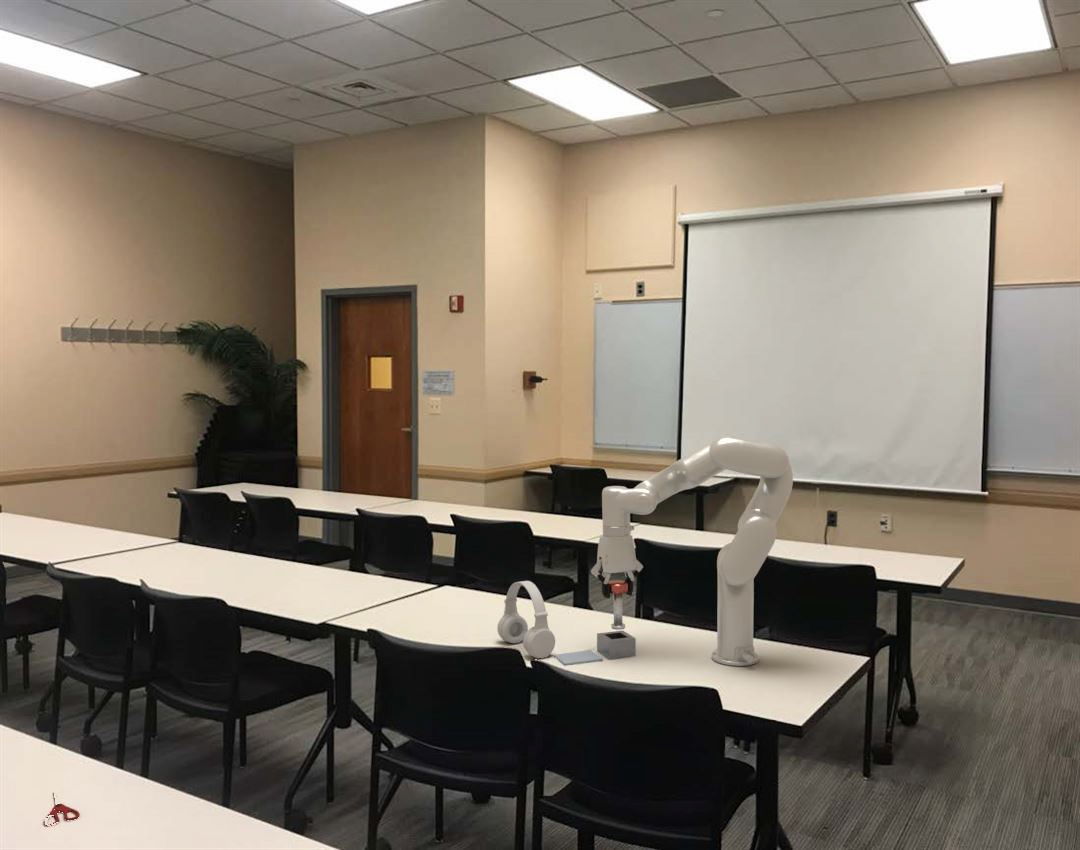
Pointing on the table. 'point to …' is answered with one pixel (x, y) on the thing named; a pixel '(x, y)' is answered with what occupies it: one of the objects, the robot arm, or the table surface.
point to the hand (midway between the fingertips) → (617, 595)
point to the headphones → (516, 628)
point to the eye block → (616, 645)
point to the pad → (578, 657)
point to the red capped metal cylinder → (618, 601)
